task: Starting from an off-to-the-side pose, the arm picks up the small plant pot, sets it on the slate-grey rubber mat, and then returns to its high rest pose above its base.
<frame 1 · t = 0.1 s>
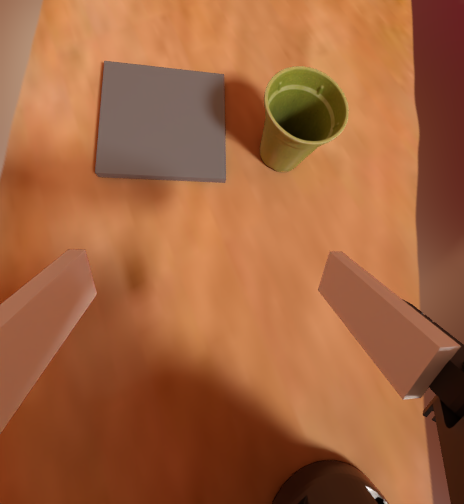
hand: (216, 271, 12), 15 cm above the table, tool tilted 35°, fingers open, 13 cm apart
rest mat: (166, 125, 30), on the table
plant pot: (279, 153, 32), on the table
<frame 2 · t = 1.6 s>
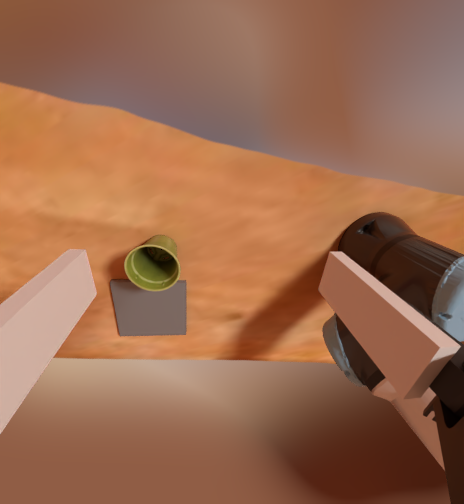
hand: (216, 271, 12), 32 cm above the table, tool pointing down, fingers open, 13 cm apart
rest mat: (152, 308, 52), on the table
plant pot: (161, 247, 46), on the table
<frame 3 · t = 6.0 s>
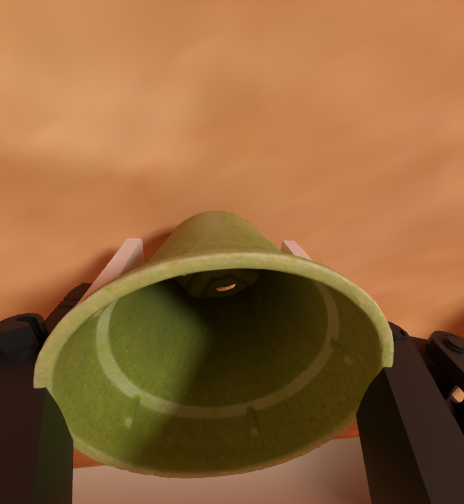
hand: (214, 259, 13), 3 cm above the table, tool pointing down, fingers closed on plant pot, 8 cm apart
plant pot: (214, 255, 14), point 3 cm above the table, touching gripper
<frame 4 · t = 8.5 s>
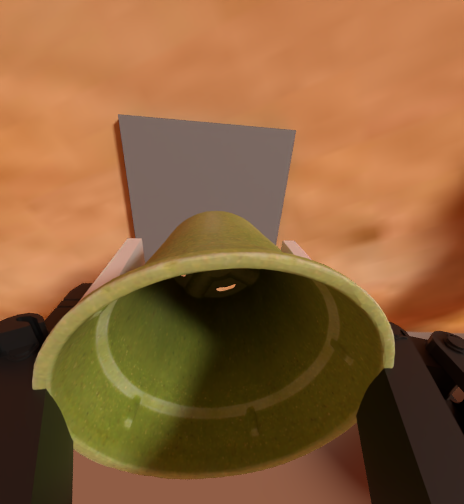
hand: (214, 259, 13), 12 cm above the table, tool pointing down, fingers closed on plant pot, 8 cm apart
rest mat: (209, 206, 24), on the table
plant pot: (214, 255, 14), point 12 cm above the table, touching gripper
when the fingers open (3 cm above the table, at t = 11.3 s): plant pot drops 1 cm, resting on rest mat.
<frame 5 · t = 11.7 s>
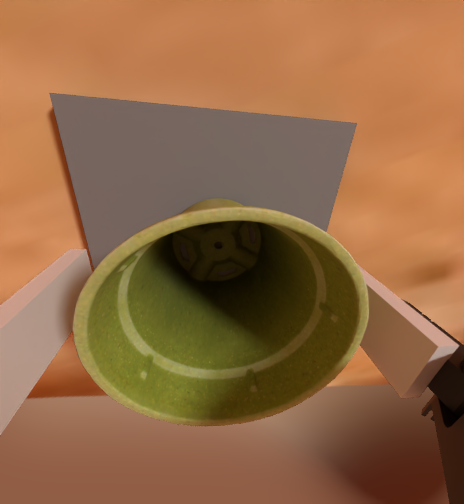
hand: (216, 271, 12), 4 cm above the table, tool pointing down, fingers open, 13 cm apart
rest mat: (212, 241, 16), on the table
plant pot: (216, 241, 15), point 1 cm above the table, touching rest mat
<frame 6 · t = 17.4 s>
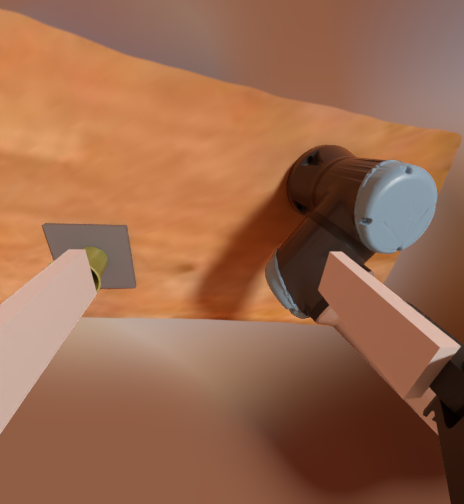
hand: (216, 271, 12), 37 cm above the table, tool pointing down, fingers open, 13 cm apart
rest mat: (95, 257, 50), on the table
plant pot: (94, 257, 49), point 1 cm above the table, touching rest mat
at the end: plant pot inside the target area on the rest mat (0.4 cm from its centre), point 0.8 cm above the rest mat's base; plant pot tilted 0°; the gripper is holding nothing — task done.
